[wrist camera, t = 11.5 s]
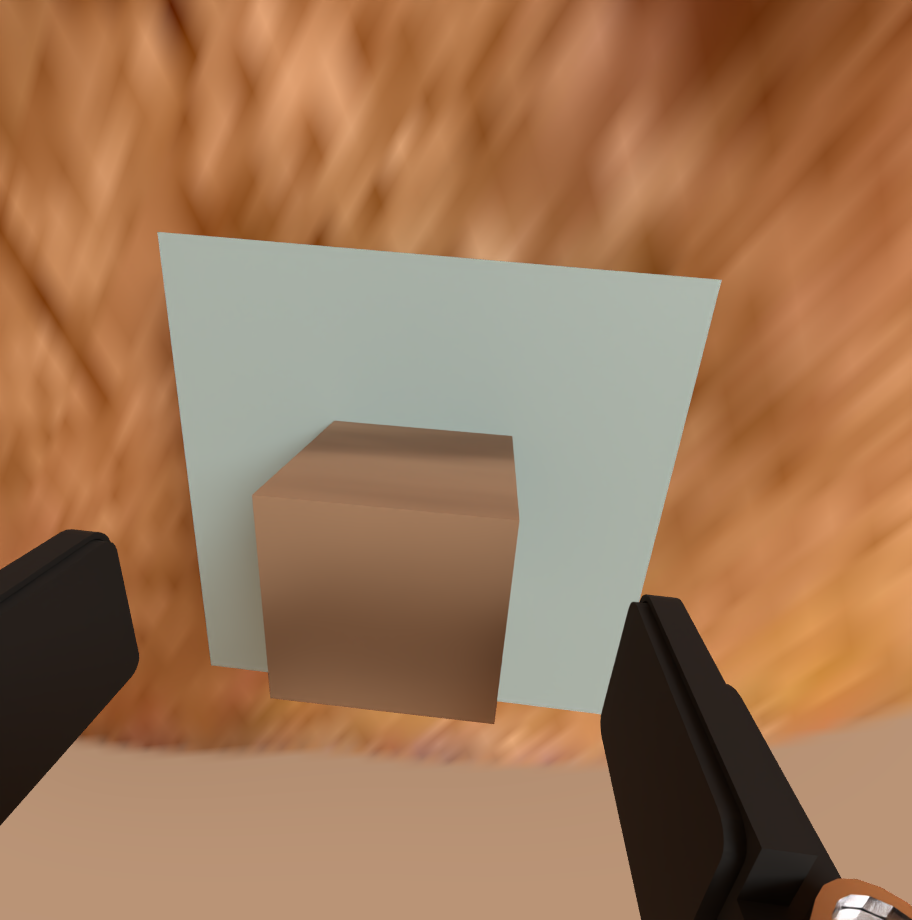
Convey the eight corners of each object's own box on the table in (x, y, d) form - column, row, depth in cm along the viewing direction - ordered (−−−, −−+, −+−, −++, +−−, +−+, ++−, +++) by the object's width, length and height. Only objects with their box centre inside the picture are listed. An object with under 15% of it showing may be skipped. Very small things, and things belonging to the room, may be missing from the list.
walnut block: (334, 420, 14) (251, 494, 9) (512, 436, 14) (519, 520, 9) (338, 571, 16) (270, 698, 11) (495, 588, 15) (494, 723, 11)
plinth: (219, 239, 15) (157, 232, 13) (679, 278, 15) (721, 280, 12) (250, 611, 20) (211, 665, 18) (593, 652, 20) (609, 715, 17)
